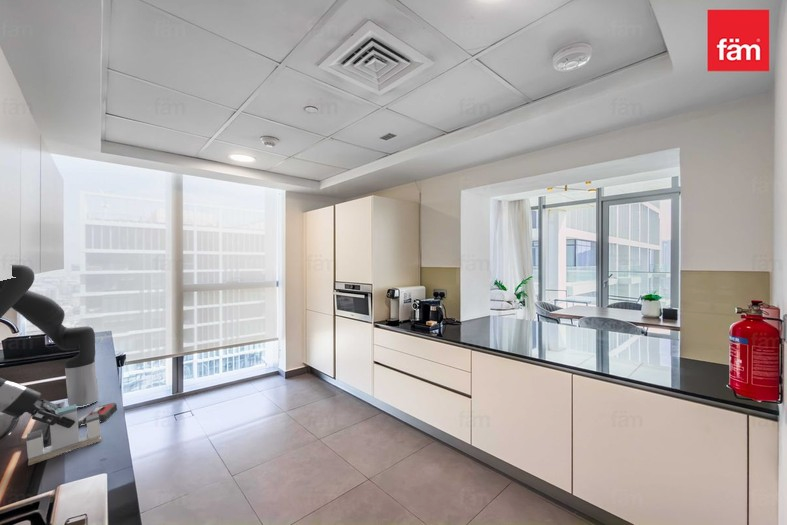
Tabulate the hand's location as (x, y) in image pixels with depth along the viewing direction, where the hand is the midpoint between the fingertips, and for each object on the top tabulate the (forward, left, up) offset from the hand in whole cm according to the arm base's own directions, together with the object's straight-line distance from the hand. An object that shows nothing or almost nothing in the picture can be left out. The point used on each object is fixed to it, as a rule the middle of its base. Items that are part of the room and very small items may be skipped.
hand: (72, 421), depth 104 cm
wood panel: (+1, -2, -8) cm, 8 cm away
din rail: (+1, -2, -8) cm, 8 cm away
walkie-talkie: (-19, -5, -9) cm, 22 cm away
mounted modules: (+1, -1, -6) cm, 7 cm away
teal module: (+1, -2, -6) cm, 7 cm away
